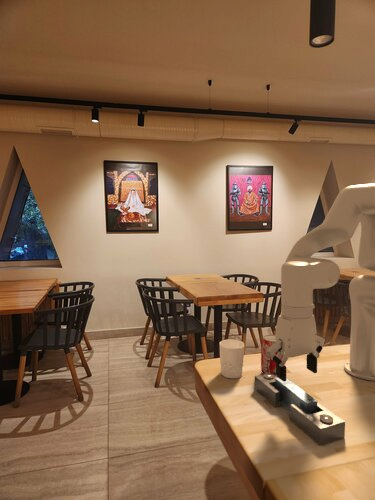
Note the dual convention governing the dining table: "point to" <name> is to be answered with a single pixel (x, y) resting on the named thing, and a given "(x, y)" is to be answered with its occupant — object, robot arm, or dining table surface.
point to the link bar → (295, 396)
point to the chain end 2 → (319, 424)
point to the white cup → (231, 358)
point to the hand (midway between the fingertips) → (296, 374)
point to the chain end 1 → (267, 387)
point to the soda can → (267, 355)
